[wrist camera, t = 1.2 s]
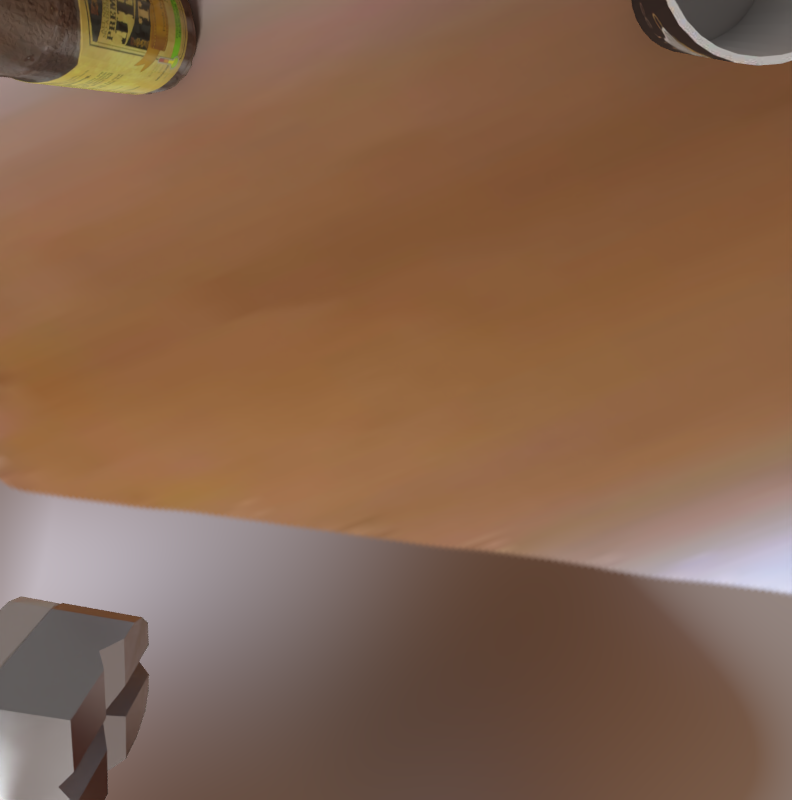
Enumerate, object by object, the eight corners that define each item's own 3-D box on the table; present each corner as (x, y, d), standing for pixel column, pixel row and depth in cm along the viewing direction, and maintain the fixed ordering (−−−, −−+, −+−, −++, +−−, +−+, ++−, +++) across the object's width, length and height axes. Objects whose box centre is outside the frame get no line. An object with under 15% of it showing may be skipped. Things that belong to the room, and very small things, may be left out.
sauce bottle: (224, 60, 36) (-25, 8, 18) (132, 115, 38) (-181, 120, 20) (159, -66, 34) (-195, -267, 16) (65, -2, 36) (-353, -118, 18)
